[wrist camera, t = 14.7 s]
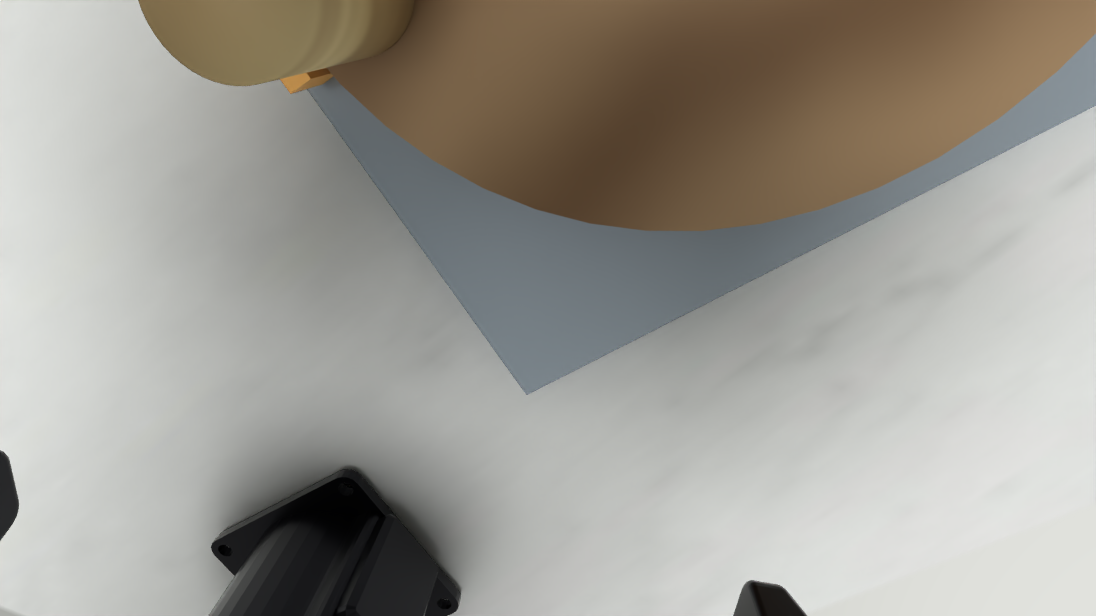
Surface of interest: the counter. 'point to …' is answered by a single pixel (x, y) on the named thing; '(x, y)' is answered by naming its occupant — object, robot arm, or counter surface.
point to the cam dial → (653, 89)
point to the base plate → (624, 235)
